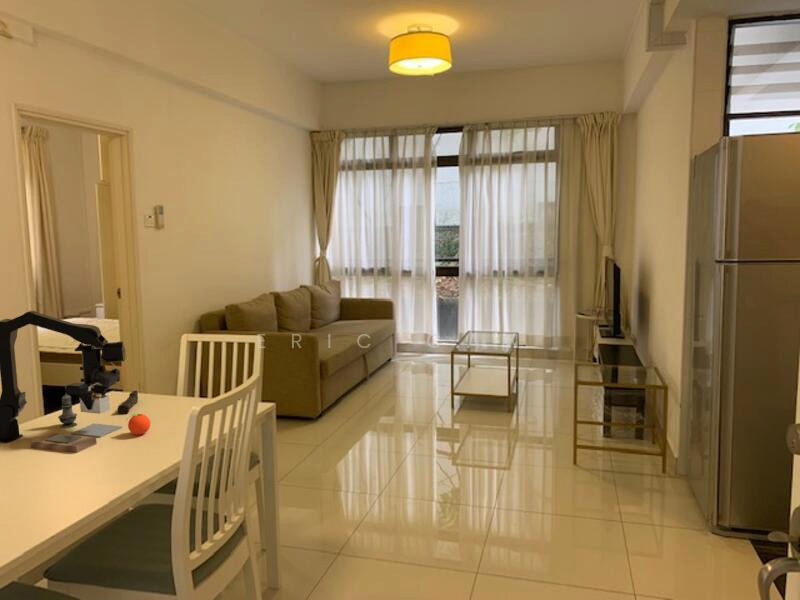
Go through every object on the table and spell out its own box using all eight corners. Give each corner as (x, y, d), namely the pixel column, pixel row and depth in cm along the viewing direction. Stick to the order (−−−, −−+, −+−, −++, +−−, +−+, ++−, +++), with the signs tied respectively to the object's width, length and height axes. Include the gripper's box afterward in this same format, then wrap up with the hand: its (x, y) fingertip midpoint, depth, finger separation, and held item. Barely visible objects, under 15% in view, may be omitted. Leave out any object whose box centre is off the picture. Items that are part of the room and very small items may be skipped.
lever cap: (80, 411, 201) (79, 394, 200) (90, 407, 206) (89, 390, 205) (100, 413, 199) (98, 395, 198) (109, 409, 203) (108, 392, 203)
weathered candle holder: (70, 428, 206) (67, 395, 204) (54, 428, 206) (52, 394, 205) (81, 423, 211) (79, 390, 210) (66, 422, 212) (64, 389, 211)
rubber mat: (71, 434, 200) (71, 432, 200) (93, 424, 210) (93, 423, 210) (100, 437, 197) (100, 436, 197) (122, 427, 206) (121, 426, 206)
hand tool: (128, 414, 221) (128, 402, 221) (117, 415, 221) (116, 403, 220) (144, 400, 240) (143, 389, 239) (133, 400, 239) (133, 389, 239)
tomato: (121, 438, 196) (120, 417, 196) (130, 430, 203) (129, 410, 202) (146, 437, 197) (145, 417, 196) (154, 430, 204) (153, 410, 203)
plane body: (30, 447, 188) (30, 440, 188) (51, 438, 196) (51, 431, 196) (77, 452, 184) (76, 445, 183) (96, 443, 191) (96, 436, 191)
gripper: (90, 371, 189) (93, 418, 191) (131, 358, 207) (133, 401, 209) (62, 368, 192) (65, 415, 194) (104, 356, 210) (107, 399, 212)
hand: (95, 407), depth 202 cm, fingers closed on lever cap, 4 cm apart
